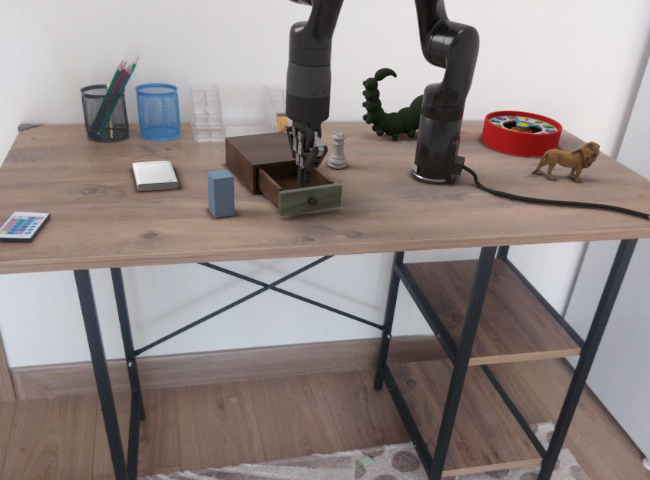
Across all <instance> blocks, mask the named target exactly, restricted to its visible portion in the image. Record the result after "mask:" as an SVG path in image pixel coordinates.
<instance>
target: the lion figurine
mask: <svg viewBox="0 0 650 480" xmlns="http://www.w3.org/2000/svg"><path fill="white" fill-rule="evenodd" d="M600 148H601V144H599V143H598V142H596V141H592V140H591V141H587V142H584V145H583V146H581V147H579V148H577V149H576V150H574V151H565V150H561V149H558V148H557V149H551V150H548V151H547V152H546V153H545V154H544V155H543V156H542V157H540V160H539V162H538V164H537V166H536V168H535V170H533V171H532V172H531V175H535V174H539V175H541V174H543V171H542V170H541V169H542V168H543V167H545V166H548V168H547V170H546V174H547V177H548V179H549V180H551V181H552V180H553V181H554V180H555V179H556V178H555V175H552V172H553V170H554V169H555V167H556V166H557V165H559V166H560V167H562V168H566V169H570V173H569V177H570V178H573V179H574V181H575V182H576V183H580V182H581V179H580V176H581V174H582V172H583V170H584V169H588V168H590V167H591V166H592V165H593V163H595V162H596V161H597V158H598V157H599V155H600V153H601V151H600Z"/></svg>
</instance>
